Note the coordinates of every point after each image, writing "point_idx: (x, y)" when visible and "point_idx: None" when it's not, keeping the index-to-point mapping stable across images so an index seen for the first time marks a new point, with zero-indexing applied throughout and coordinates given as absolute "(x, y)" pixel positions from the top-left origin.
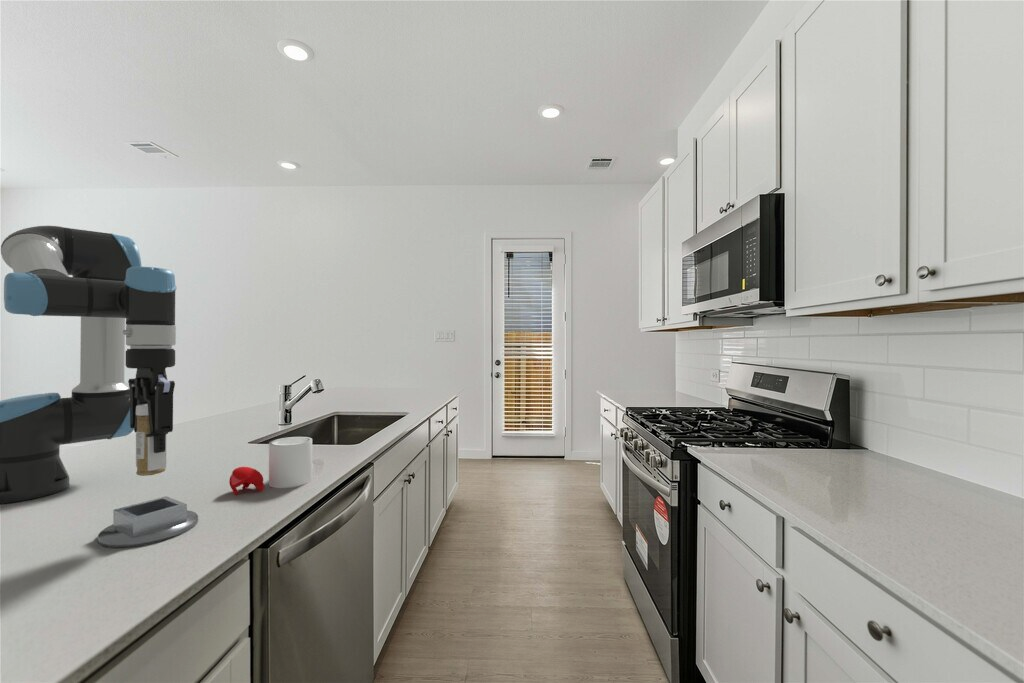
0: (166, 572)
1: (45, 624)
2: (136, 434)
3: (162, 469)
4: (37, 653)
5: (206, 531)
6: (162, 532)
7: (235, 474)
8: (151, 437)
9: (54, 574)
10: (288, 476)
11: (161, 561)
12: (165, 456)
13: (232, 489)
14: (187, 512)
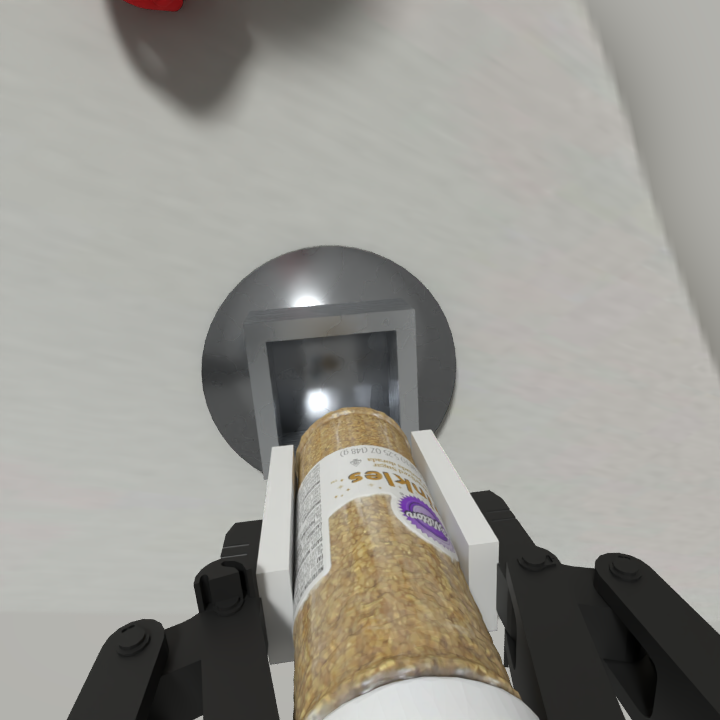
0: (641, 421)
1: None
2: (281, 657)
3: (402, 432)
4: (716, 598)
5: (489, 272)
6: (432, 373)
7: None
8: (495, 615)
9: None
10: None
11: (576, 412)
12: (447, 460)
13: (158, 9)
14: (308, 262)
